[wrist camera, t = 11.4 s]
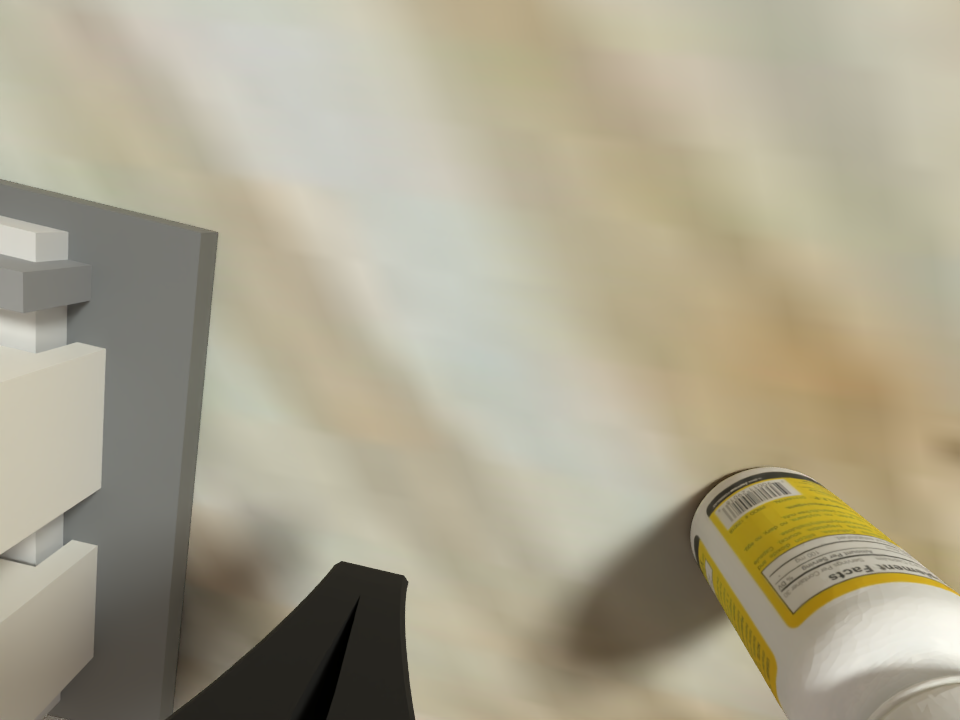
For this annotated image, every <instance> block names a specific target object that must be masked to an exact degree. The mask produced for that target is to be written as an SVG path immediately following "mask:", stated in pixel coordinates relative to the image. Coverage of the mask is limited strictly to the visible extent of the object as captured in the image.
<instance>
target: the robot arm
mask: <svg viewBox="0 0 960 720" xmlns="http://www.w3.org/2000/svg"><path fill="white" fill-rule="evenodd" d="M407 586H408V581H407V579H406V578H405V576H403V575H399V574H395V573H390V572H386V571H382V570H378V569H373V568H369V567H365V566H360V565H356V564H352V563H347V562H343V561H341V562H339V563H337V564H336V565H334V567H333V568H332V569H331V570H330V572H329V573H328V574H327V575H326V576H325V577H324V579H323V580H322V581H321V582H320V583H319V584H318V585H317V586H316V587H315V589H314V590H313V591H312V592H311V593H310V594H309V595H308V596H307V597H306V598H305V599H304V600H303V601H302V602H301V603H300V604H299V605H298V606H297V607H296V608H295V609H294V610H293V611H292V612H291V613H290V614H289V615H288V616H287V617H286V618H285V619H284V620H283V621H282V622H281V623H280V624H279V625H278V626H276V627H275V628H274V629H273V630H272V631H271V632H270V633H269V634H268V635H267V636H266V637H265V638H264V639H263V640H262V641H261V642H259V643H258V644H257V645H256V646H255V647H254V648H253V649H252V650H250V651H249V652H248V653H247V654H246V655H245V656H243V657H242V658H241V659H240V660H239V661H238V662H236V663H235V664H234V665H233V666H232V667H231V668H229V669H228V670H227V671H226V672H225V673H224V674H222V675H221V676H220V677H219V678H218V679H217V680H215V681H214V682H213V683H212V684H210V685H209V686H208V687H207V688H205V689H204V690H203V691H202V692H200V693H199V694H198V695H197V696H195V697H194V698H193V699H191V700H190V701H189V702H188V703H186V704H185V705H184V706H182V707H181V708H180V709H178V710H177V711H176V712H174V713H173V714H172V715H170V716H169V717H168V718H166V719H165V720H415V716H414V710H413V703H412V697H411V689H410V682H409V672H408V662H407V652H406V638H405V601H406V591H407Z"/></svg>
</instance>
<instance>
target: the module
mask: <svg viewBox="0 0 960 720" xmlns="http://www.w3.org/2000/svg"><path fill="white" fill-rule="evenodd" d="M105 362H106V349H105V348H100V347H96V346H92V345H88V344H83V343H79V342H76V343H72V344H69V345H65V346H62V347H58V348H55V349H51V350H47V351H44V352H40V353H37V354H35V353H31V352H27V351H22V350H18V349H14V348H10V347H5V346H1V345H0V554H2V553H4V552H5V551H7V550H8V549H10V548H11V547H13V546H14V545H16V544H17V543H19V542H20V541H22V540H23V539H25V538H26V537H28V536H29V535H31V534H32V533H34V532H35V531H37V530H38V529H40V528H41V527H43V526H44V525H46V524H47V523H49V522H50V521H52V520H53V519H55V518H56V517H58V516H59V515H61V514H62V513H64V512H65V511H67V510H69V509H70V508H72V507H73V506H75V505H76V504H78V503H79V502H81V501H82V500H84V499H85V498H87V497H88V496H90V495H91V494H93V493H94V492H96V491H97V490H99V489H100V488H101V476H102V447H103V419H104V391H105Z"/></svg>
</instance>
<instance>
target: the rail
mask: <svg viewBox="0 0 960 720" xmlns="http://www.w3.org/2000/svg"><path fill="white" fill-rule="evenodd" d="M217 238H218V232H215V231H211V230H207V229H203V228H199V227H195V226H190V225H186V224H182V223H178V222H174V221H170V220H166V219H162V218H158V217H154V216H149V215H145V214H141V213H137V212H133V211H129V210H125V209H121V208H117V207H113V206H108V205H104V204H100V203H96V202H92V201H88V200H84V199H80V198H76V197H72V196H67V195H63V194H59V193H55V192H51V191H47V190H43V189H39V188H35V187H30V186H26V185H22V184H18V183H14V182H10V181H6V180H2V179H0V345H1V346H5V347H10V348H14V349H18V350H22V351H27V352H31V353H35V354H37V353H40V352H44V351H47V350H51V349H55V348H58V347H62V346H65V345H69V344H72V343H76V342H79V343H83V344H88V345H92V346H96V347H100V348H105V349H106V362H105V391H104V419H103V447H102V476H101V488H100V489H99V490H97V491H96V492H94V493H93V494H91V495H90V496H88V497H87V498H85V499H84V500H82V501H81V502H79V503H78V504H76V505H75V506H73V507H72V508H70V509H69V510H67V511H65V512H64V513H62V514H61V515H59V516H58V517H56V518H55V519H53V520H52V521H50V522H49V523H47V524H46V525H44V526H43V527H41V528H40V529H38V530H37V531H35V532H34V533H32V534H31V535H29V536H28V537H26V538H25V539H23V540H22V541H20V542H19V543H17V544H16V545H14V546H13V547H11V548H10V549H8V550H7V551H5V552H4V553H2V554H0V720H42V719H43V718H44V717H45V716H46V715H50V716H55V717H59V718H64V719H68V720H165V719H166V718H168V717H169V716H170V715H172V713H173V703H174V692H175V681H176V671H177V660H178V650H179V639H180V629H181V618H182V608H183V597H184V587H185V576H186V565H187V555H188V544H189V534H190V523H191V513H192V502H193V492H194V481H195V470H196V460H197V449H198V439H199V428H200V418H201V407H202V397H203V386H204V375H205V365H206V354H207V344H208V333H209V323H210V312H211V302H212V291H213V280H214V270H215V259H216V249H217Z"/></svg>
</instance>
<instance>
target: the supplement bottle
mask: <svg viewBox="0 0 960 720" xmlns="http://www.w3.org/2000/svg"><path fill="white" fill-rule="evenodd" d="M690 539H691V547H692V551H693V555H694V557H695V560H696V562H697V564H698V566H699V568H700V570H701V571H702V573H703V575H704V577H705V578H706V580H707V582H708V584H709V585H710V587H711V589H712V590H713V592H714V594H715V595H716V597H717V599H718V600H719V602H720V604H721V606H722V607H723V609H724V611H725V613H726V614H727V616H728V618H729V619H730V621H731V623H732V625H733V626H734V628H735V630H736V631H737V633H738V635H739V636H740V638H741V640H742V642H743V643H744V645H745V647H746V649H747V650H748V652H749V654H750V656H751V657H752V659H753V660H754V662H755V664H756V666H757V667H758V669H759V671H760V672H761V674H762V676H763V677H764V679H765V681H766V683H767V685H768V686H769V688H770V689H771V691H772V693H773V695H774V696H775V698H776V700H777V702H778V703H779V705H780V707H781V708H782V710H783V711H784V713H785V715H786V716H787V718H788V719H789V720H960V595H959V594H958V593H957V592H955V591H954V590H953V589H952V588H950V587H949V586H948V585H947V584H945V583H944V582H943V581H942V580H940V579H939V578H938V577H937V576H935V575H934V574H933V573H931V572H930V571H929V570H928V569H926V568H925V567H924V566H923V565H922V564H920V563H919V562H918V561H917V560H915V559H914V558H913V557H912V556H910V555H909V554H908V553H907V552H905V551H904V550H903V549H902V548H900V547H899V546H898V545H897V544H895V543H894V542H893V541H892V540H890V539H889V538H888V537H887V536H886V535H884V534H883V533H882V532H881V531H879V530H878V529H877V528H875V527H874V526H873V525H872V524H870V523H869V522H868V521H867V520H865V519H864V518H863V517H862V516H861V515H859V514H858V513H857V512H855V511H854V510H853V509H852V508H850V507H849V506H848V505H847V504H846V503H844V502H843V501H842V500H841V499H839V498H838V497H837V496H836V495H834V494H833V493H831V492H830V491H829V490H827V489H826V488H825V487H824V486H822V485H821V484H820V483H818V482H817V481H815V480H814V479H812V478H810V477H809V476H807V475H804V474H802V473H800V472H797V471H794V470H790V469H785V468H779V467H760V468H754V469H750V470H746V471H742V472H740V473H737V474H735V475H733V476H731V477H729V478H727V479H725V480H724V481H722V482H720V483H719V484H718V485H717V486H715V487H714V488H713V489H712V490H711V491H710V492H709V493H708V494H707V495H706V496H705V498H704V499H703V500H702V502H701V503H700V505H699V507H698V508H697V510H696V513H695V515H694V518H693V521H692V525H691V533H690Z"/></svg>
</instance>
